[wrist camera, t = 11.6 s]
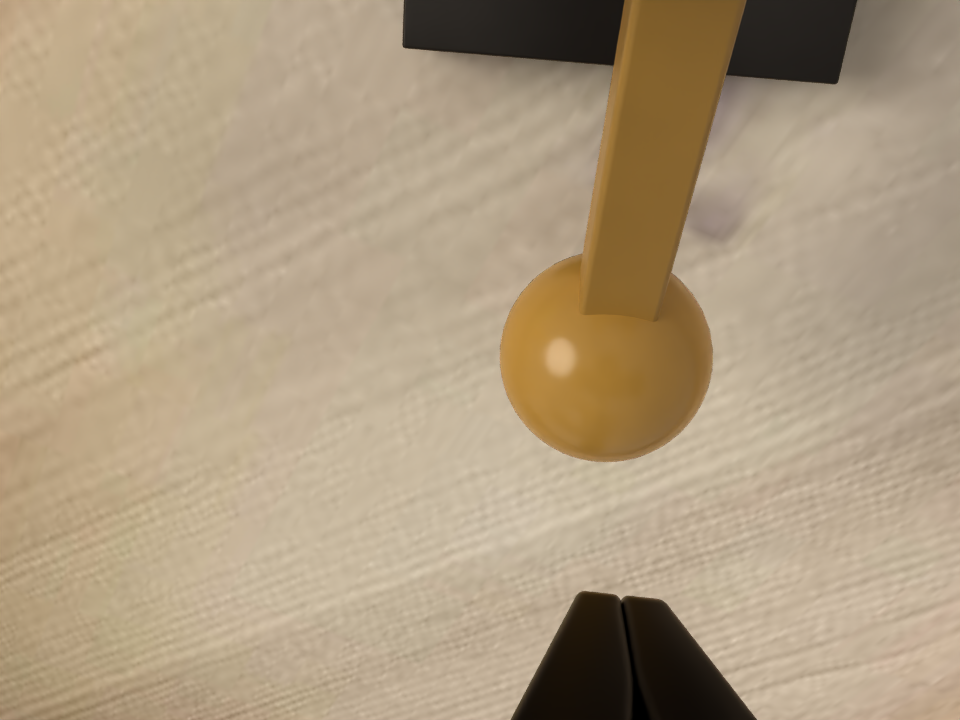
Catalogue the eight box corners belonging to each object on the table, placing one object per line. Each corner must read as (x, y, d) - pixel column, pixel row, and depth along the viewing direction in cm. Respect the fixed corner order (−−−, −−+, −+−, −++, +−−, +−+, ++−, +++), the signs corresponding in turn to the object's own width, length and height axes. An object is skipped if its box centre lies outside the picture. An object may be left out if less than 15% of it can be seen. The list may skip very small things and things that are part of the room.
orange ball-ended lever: (684, 352, 16) (692, 511, 14) (503, 334, 16) (486, 490, 14) (1019, -679, 7) (1185, -637, 5) (584, -700, 7) (564, -667, 5)
